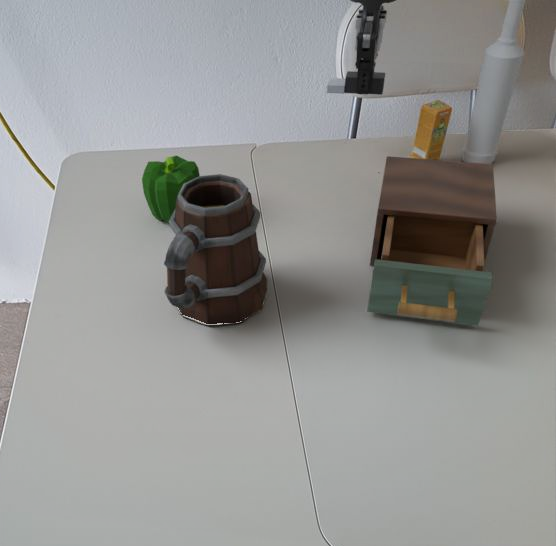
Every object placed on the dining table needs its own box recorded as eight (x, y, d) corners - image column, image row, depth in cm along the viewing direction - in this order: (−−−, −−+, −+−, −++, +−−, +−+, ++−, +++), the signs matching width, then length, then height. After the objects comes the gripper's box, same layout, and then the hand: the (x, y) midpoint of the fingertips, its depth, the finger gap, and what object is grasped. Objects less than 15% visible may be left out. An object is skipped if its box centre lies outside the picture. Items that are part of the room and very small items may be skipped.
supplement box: (423, 174, 101) (436, 111, 94) (408, 165, 103) (419, 103, 96) (440, 168, 102) (453, 105, 95) (424, 159, 104) (436, 98, 97)
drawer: (478, 353, 71) (494, 305, 66) (363, 336, 74) (370, 289, 69) (476, 262, 82) (489, 216, 78) (376, 251, 85) (383, 206, 80)
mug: (203, 259, 88) (195, 157, 77) (283, 285, 83) (286, 179, 72) (135, 327, 78) (116, 221, 68) (220, 361, 73) (214, 252, 63)
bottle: (473, 169, 101) (517, -7, 83) (453, 155, 104) (492, -17, 87) (501, 162, 102) (551, -14, 84) (481, 148, 105) (524, -23, 88)
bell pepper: (153, 200, 100) (145, 138, 93) (205, 201, 98) (201, 139, 91) (140, 230, 94) (131, 167, 87) (196, 232, 92) (191, 168, 86)
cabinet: (479, 278, 81) (497, 219, 75) (369, 265, 85) (377, 208, 79) (477, 220, 91) (493, 163, 85) (378, 210, 94) (386, 155, 88)
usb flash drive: (383, 88, 98) (385, 71, 96) (382, 95, 96) (384, 79, 94) (329, 85, 100) (330, 69, 98) (326, 93, 98) (327, 76, 96)
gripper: (354, -55, 91) (344, 71, 103) (342, -28, 82) (332, 107, 93) (409, -55, 89) (392, 73, 101) (404, -28, 80) (386, 110, 92)
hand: (364, 88), depth 97 cm, fingers closed on usb flash drive, 2 cm apart
